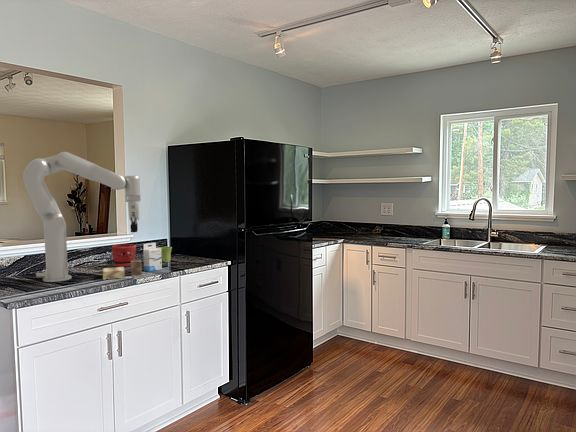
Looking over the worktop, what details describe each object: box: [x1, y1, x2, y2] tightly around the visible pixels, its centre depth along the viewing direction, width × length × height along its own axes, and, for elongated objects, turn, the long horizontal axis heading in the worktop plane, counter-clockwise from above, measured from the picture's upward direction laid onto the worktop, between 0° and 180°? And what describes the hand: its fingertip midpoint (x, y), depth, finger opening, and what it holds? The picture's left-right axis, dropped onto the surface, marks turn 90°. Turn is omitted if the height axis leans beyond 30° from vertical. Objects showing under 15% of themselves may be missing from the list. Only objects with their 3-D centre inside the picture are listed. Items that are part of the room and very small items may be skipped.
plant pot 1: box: [111, 244, 137, 268], centre depth 253 cm, size 13×13×12 cm
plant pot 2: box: [157, 246, 173, 263], centre depth 266 cm, size 9×9×9 cm
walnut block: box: [130, 259, 143, 276], centre depth 228 cm, size 5×5×7 cm
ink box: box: [143, 242, 163, 272], centre depth 239 cm, size 9×5×15 cm, turn 145°
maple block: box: [102, 266, 126, 281], centre depth 222 cm, size 10×10×4 cm
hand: (134, 231), depth 232 cm, fingers open, 9 cm apart
